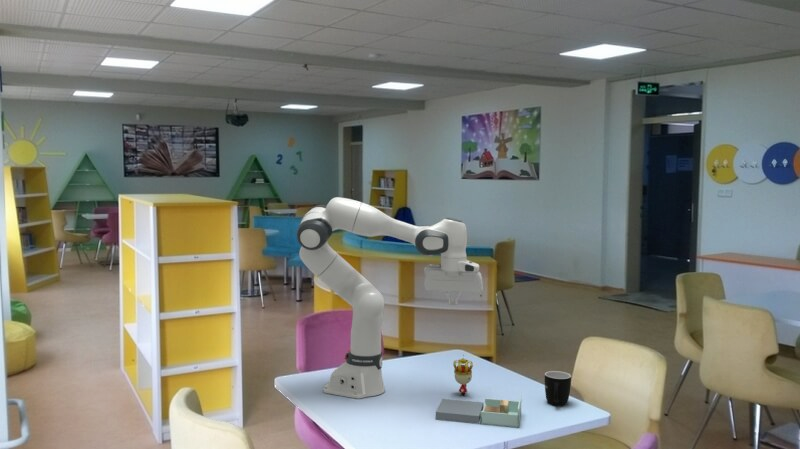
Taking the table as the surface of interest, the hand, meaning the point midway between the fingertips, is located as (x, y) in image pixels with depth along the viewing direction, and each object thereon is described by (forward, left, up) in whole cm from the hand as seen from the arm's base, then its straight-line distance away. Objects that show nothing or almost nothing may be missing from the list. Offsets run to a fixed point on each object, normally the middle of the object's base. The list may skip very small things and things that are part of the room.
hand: (453, 304), depth 225 cm
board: (+5, -12, -34) cm, 37 cm away
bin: (+18, -12, -34) cm, 41 cm away
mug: (+36, +6, -34) cm, 50 cm away
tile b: (+16, -12, -34) cm, 39 cm away
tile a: (+18, -12, -31) cm, 38 cm away
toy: (+3, +7, -34) cm, 35 cm away
